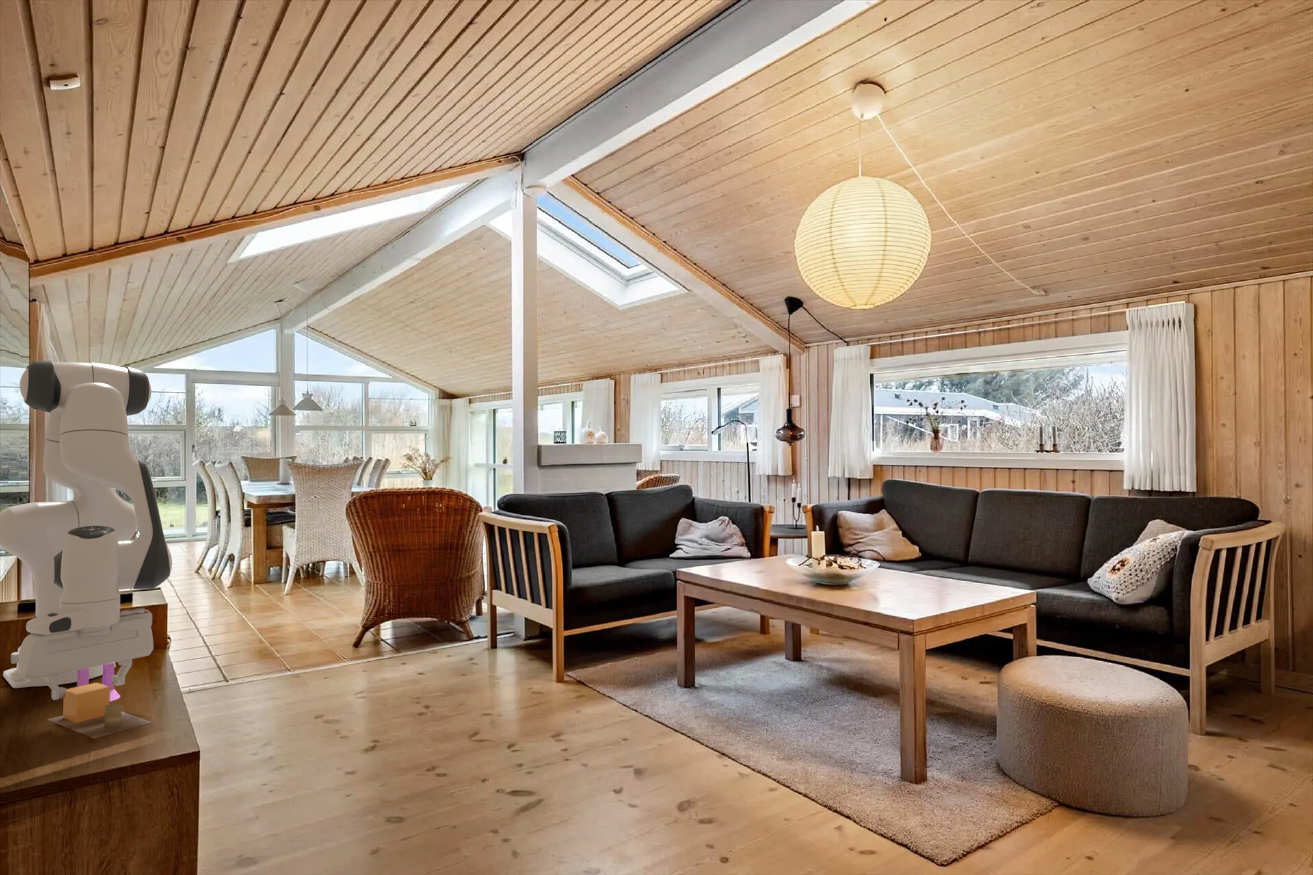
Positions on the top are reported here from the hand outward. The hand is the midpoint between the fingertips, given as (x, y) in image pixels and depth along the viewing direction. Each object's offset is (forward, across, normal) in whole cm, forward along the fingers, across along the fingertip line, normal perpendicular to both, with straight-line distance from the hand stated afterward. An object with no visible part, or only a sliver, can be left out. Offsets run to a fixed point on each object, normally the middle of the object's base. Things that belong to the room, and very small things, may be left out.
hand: (89, 691), depth 137 cm
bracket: (+6, -7, -13) cm, 16 cm away
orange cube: (+4, 0, -1) cm, 5 cm away
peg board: (+6, 0, +4) cm, 7 cm away
